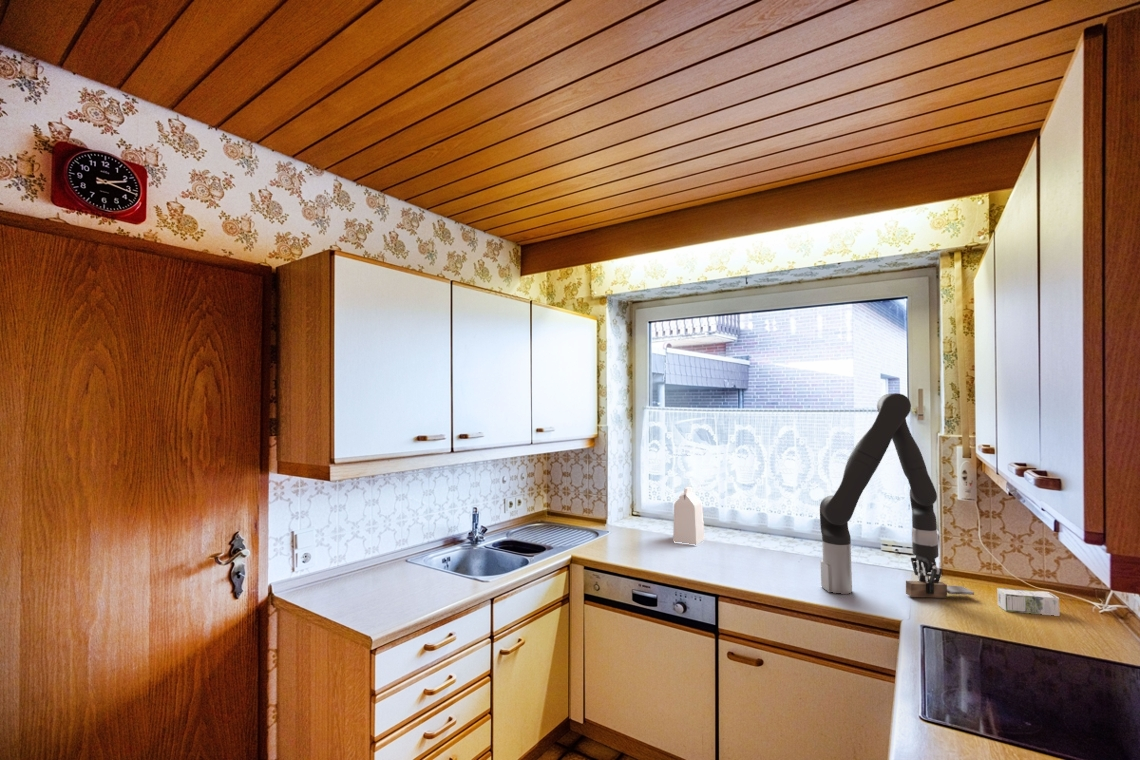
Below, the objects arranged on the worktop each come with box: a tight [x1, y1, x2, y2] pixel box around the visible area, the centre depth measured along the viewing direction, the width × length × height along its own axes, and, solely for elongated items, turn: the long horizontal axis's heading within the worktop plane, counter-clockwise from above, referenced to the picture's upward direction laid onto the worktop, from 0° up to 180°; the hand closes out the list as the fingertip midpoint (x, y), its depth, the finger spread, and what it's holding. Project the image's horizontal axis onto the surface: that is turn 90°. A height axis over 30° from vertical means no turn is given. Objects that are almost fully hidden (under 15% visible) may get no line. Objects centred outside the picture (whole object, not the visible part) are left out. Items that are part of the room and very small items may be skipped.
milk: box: [672, 486, 706, 545], centre depth 256 cm, size 12×12×26 cm
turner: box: [905, 580, 975, 599], centre depth 183 cm, size 20×6×4 cm, turn 88°
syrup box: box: [996, 587, 1061, 617], centre depth 171 cm, size 6×6×14 cm
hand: (926, 591), depth 183 cm, fingers closed on turner, 3 cm apart
